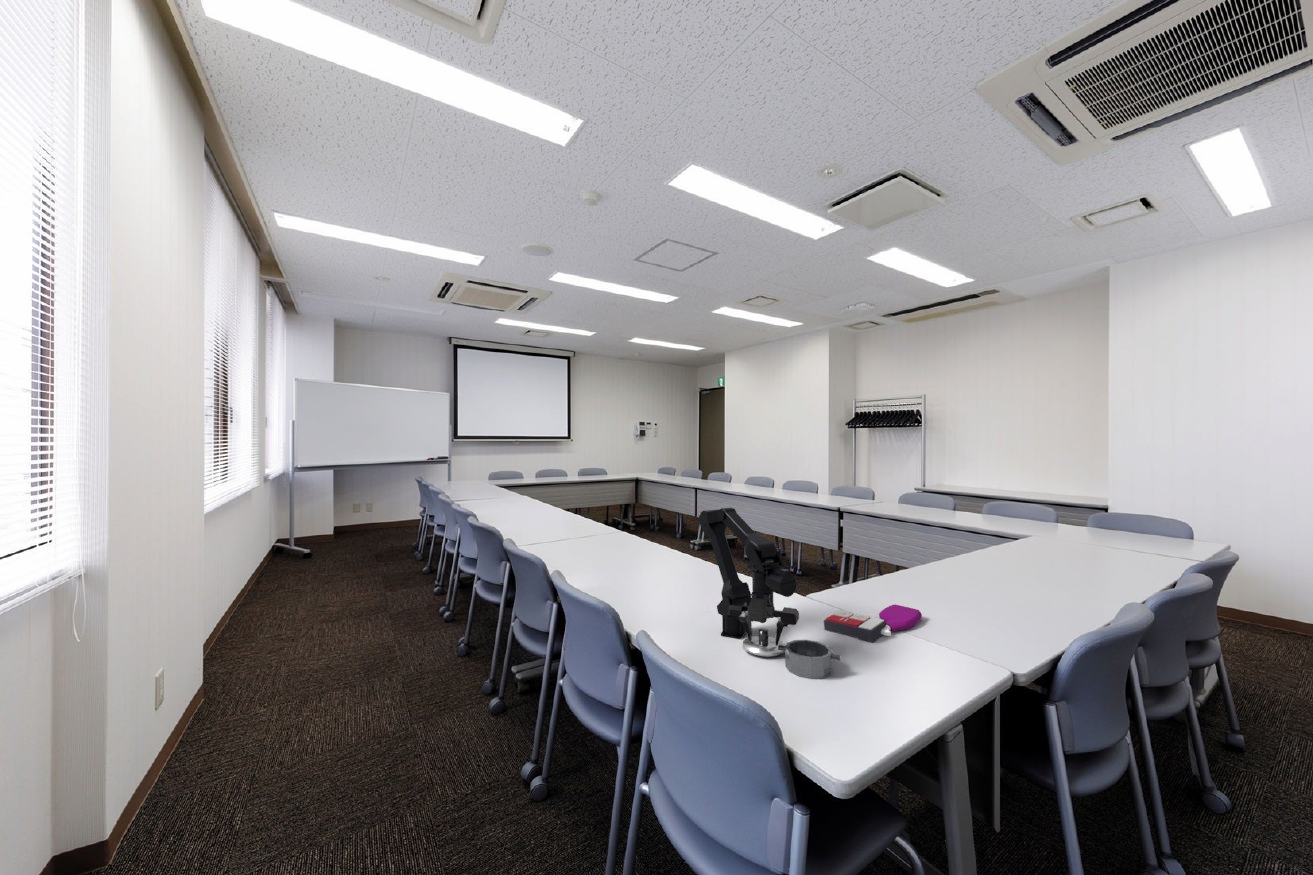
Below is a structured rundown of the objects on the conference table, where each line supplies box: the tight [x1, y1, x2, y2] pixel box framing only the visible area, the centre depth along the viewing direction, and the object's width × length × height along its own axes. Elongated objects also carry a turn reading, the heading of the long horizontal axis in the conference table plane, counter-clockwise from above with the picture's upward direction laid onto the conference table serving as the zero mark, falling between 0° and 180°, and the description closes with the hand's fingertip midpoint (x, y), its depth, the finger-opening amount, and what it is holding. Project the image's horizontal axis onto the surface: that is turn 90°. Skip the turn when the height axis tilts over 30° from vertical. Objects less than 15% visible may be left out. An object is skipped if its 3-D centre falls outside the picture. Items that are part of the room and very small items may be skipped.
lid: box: [742, 627, 786, 658], centre depth 135 cm, size 12×12×6 cm
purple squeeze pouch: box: [878, 604, 923, 637], centre depth 152 cm, size 3×11×24 cm
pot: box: [778, 639, 841, 680], centre depth 124 cm, size 15×11×5 cm
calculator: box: [823, 610, 886, 644], centre depth 148 cm, size 11×4×15 cm
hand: (763, 642), depth 135 cm, fingers open, 7 cm apart
